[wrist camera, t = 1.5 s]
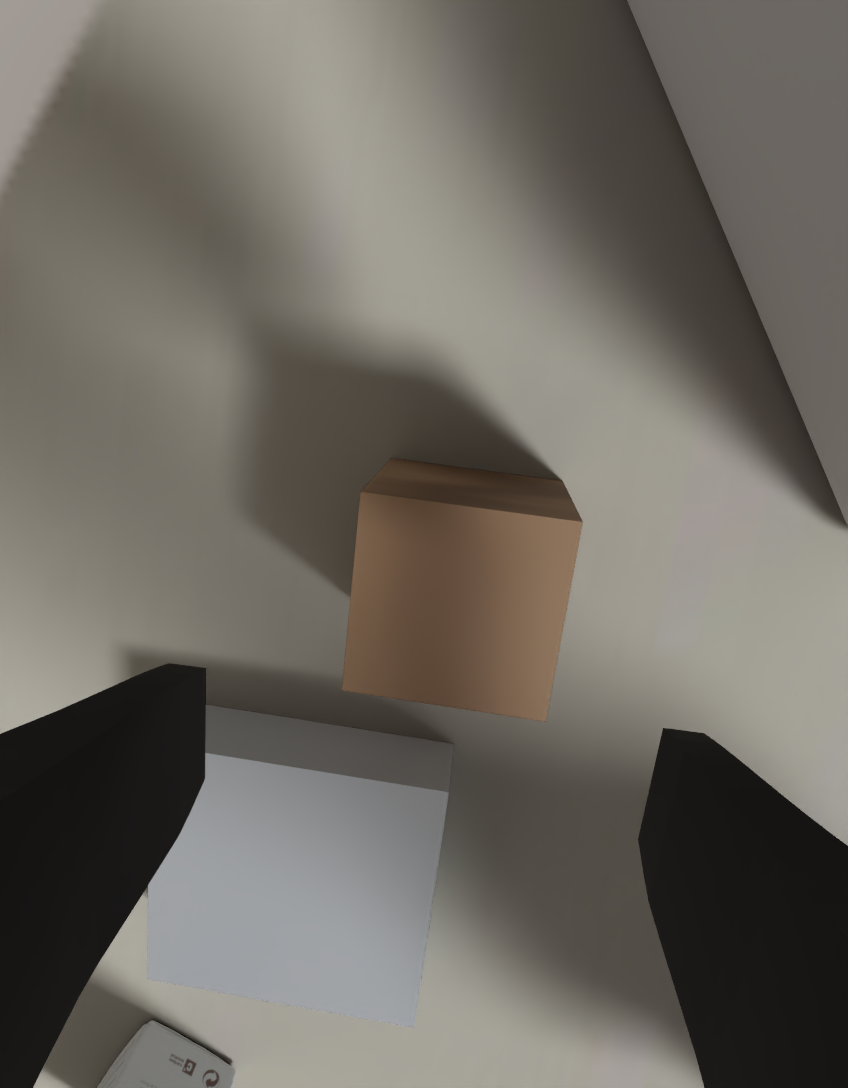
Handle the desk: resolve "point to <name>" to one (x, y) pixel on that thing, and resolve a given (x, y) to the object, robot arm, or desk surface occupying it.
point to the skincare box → (166, 1063)
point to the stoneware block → (304, 867)
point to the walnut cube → (460, 587)
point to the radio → (774, 175)
